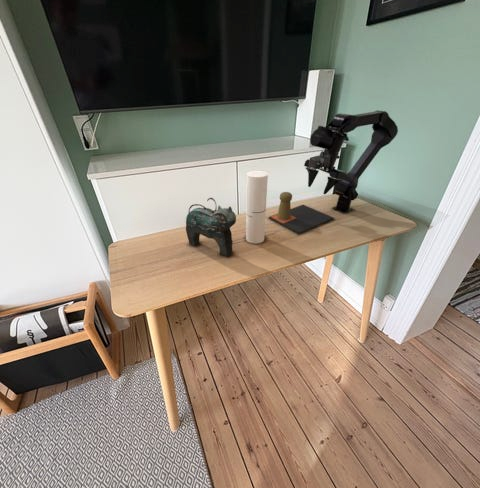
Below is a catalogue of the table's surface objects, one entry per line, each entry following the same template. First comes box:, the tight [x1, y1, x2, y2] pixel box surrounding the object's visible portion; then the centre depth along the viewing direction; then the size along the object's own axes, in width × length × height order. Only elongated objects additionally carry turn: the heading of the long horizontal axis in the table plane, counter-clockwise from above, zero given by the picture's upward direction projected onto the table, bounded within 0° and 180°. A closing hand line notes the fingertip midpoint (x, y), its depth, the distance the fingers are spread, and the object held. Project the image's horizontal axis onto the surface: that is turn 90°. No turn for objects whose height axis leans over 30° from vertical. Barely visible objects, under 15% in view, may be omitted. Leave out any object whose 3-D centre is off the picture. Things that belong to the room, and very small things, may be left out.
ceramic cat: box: [185, 197, 237, 258], centre depth 89 cm, size 20×6×20 cm, turn 59°
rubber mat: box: [268, 204, 334, 235], centre depth 114 cm, size 22×18×1 cm
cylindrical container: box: [245, 170, 269, 244], centre depth 93 cm, size 7×7×25 cm
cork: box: [277, 191, 293, 220], centre depth 110 cm, size 6×6×11 cm
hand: (316, 190), depth 108 cm, fingers open, 9 cm apart
